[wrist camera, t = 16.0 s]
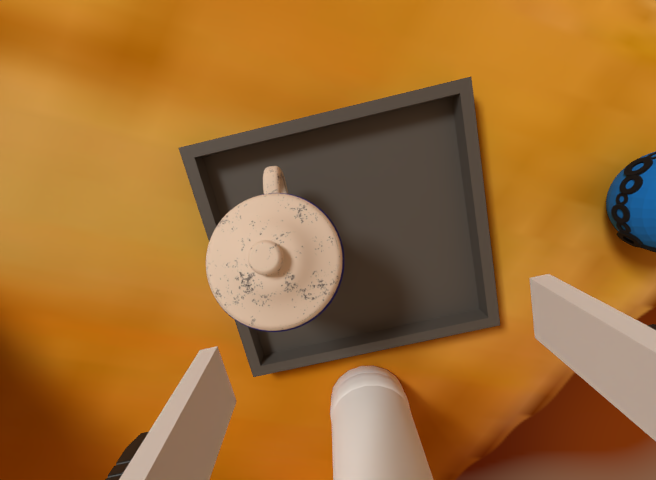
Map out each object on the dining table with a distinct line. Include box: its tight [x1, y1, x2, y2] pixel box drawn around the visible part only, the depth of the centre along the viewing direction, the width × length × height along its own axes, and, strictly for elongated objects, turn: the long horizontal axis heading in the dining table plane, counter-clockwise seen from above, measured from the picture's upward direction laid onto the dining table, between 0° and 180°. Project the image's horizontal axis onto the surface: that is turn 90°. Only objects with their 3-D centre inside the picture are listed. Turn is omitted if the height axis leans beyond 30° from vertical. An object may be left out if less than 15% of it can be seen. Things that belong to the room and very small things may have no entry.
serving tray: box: [179, 77, 500, 377], centre depth 31 cm, size 24×22×2 cm
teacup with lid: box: [206, 166, 345, 332], centre depth 25 cm, size 12×9×12 cm
